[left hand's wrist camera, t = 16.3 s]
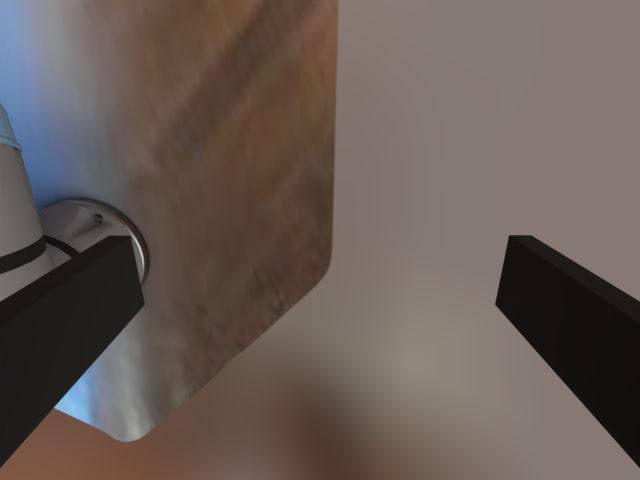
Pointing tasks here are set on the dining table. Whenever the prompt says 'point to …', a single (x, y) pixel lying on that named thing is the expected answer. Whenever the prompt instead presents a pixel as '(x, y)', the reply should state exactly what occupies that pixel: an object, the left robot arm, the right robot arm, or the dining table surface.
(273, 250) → the dining table surface
